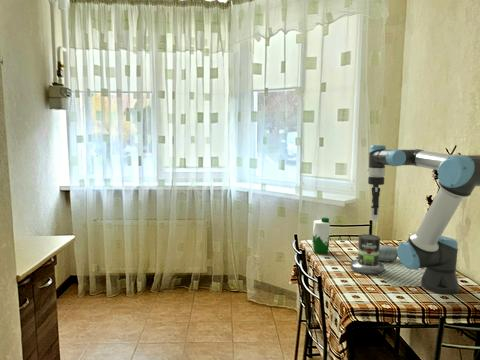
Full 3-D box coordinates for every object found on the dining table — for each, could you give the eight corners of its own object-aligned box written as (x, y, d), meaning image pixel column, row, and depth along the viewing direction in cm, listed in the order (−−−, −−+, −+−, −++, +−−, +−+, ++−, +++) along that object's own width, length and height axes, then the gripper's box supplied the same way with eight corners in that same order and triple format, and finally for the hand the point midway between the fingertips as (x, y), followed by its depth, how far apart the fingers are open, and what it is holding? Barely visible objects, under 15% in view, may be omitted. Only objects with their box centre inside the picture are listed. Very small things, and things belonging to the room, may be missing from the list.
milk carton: (329, 254, 214) (331, 219, 212) (313, 254, 214) (314, 219, 212) (326, 249, 223) (328, 216, 220) (311, 249, 223) (312, 216, 221)
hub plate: (390, 272, 187) (391, 266, 186) (366, 276, 180) (366, 271, 180) (367, 262, 201) (367, 257, 201) (343, 266, 194) (344, 261, 194)
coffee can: (379, 268, 184) (380, 240, 182) (357, 266, 187) (358, 238, 185) (378, 261, 193) (379, 235, 192) (357, 259, 196) (358, 233, 195)
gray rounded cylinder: (396, 251, 209) (394, 238, 204) (401, 264, 201) (399, 251, 196) (370, 255, 212) (368, 242, 207) (374, 268, 205) (372, 255, 200)
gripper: (368, 174, 199) (366, 213, 201) (368, 178, 175) (366, 223, 178) (383, 174, 197) (381, 214, 199) (386, 178, 173) (383, 224, 175)
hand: (374, 218), depth 188 cm, fingers open, 13 cm apart
